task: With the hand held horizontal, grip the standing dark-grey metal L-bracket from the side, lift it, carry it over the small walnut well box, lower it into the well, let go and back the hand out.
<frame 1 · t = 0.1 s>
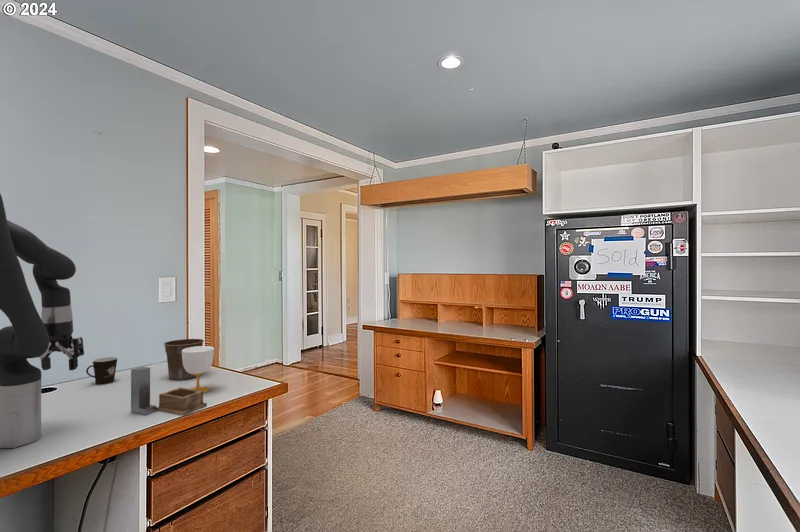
hand: (60, 369, 127), 17 cm above the table, fingers open, 8 cm apart
well: (178, 407, 141), on the table
cup: (197, 391, 160), on the table
bracket: (140, 411, 137), on the table
plant pot: (184, 377, 181), on the table
coffee mug: (100, 383, 170), on the table
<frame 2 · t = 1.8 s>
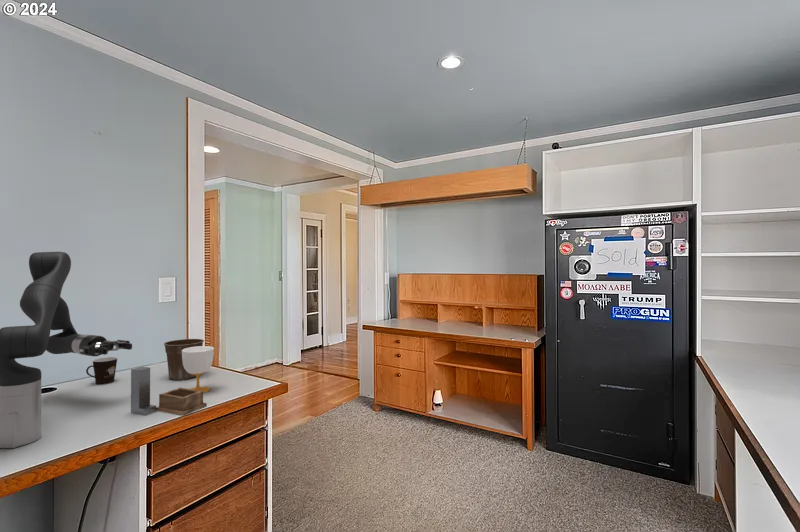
hand: (119, 348, 141), 21 cm above the table, fingers open, 8 cm apart
nothing on the table moved.
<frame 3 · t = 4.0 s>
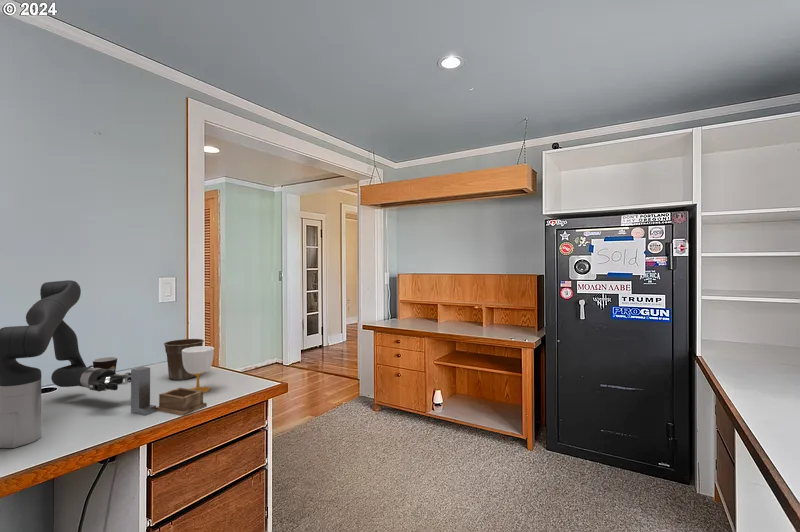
hand: (129, 383, 139), 9 cm above the table, fingers open, 8 cm apart
nothing on the table moved.
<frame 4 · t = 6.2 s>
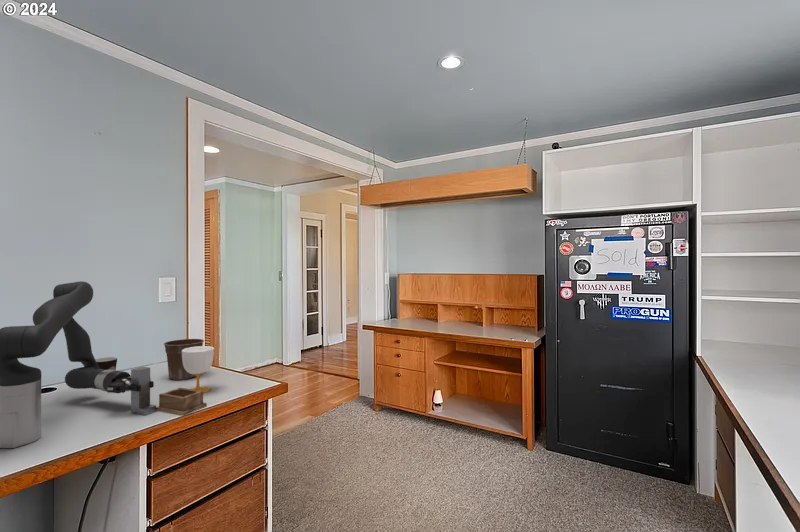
hand: (146, 386, 137), 9 cm above the table, fingers closed on bracket, 4 cm apart
bracket: (140, 411, 137), on the table, touching gripper
everything else where it was.
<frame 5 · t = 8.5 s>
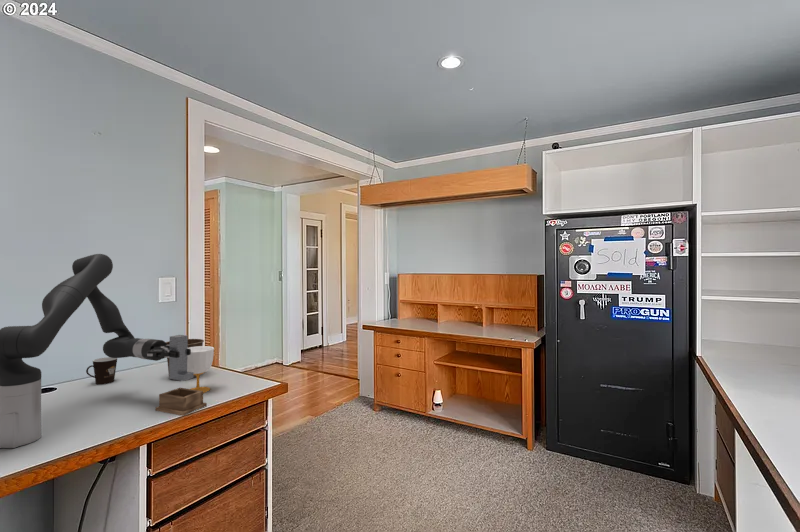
hand: (184, 353, 140), 20 cm above the table, fingers closed on bracket, 4 cm apart
bracket: (178, 377, 141), point 11 cm above the table, touching gripper
everything else where it was.
when the fingers open (11 cm above the table, at t = 10.7 s): bracket drops 1 cm, resting on well.
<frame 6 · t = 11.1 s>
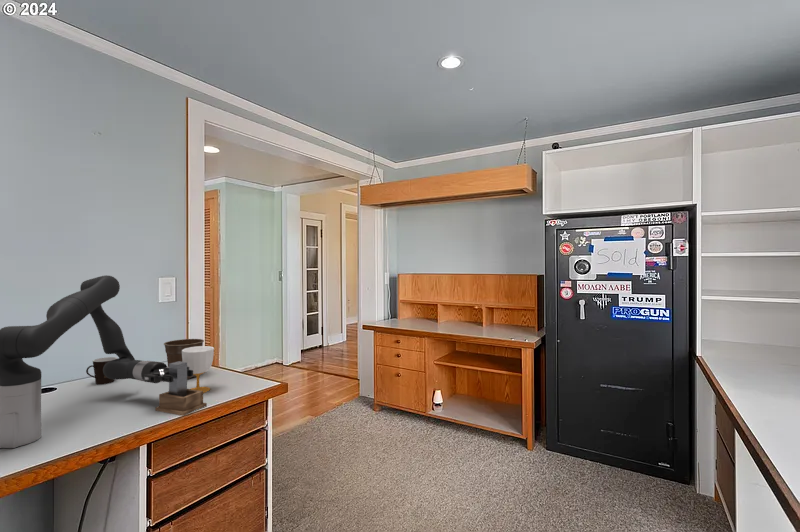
hand: (182, 376, 141), 12 cm above the table, fingers open, 7 cm apart
bracket: (178, 404, 141), point 1 cm above the table, touching well
everything else where it was.
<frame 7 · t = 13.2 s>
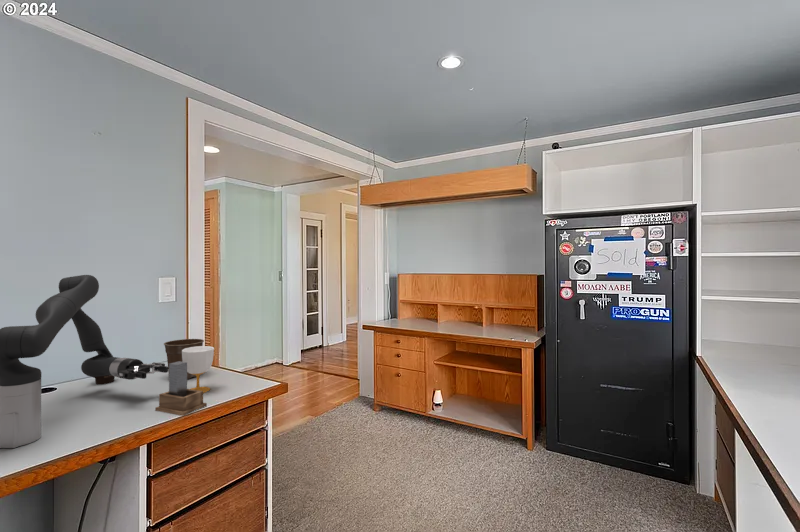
hand: (156, 372, 145), 11 cm above the table, fingers open, 8 cm apart
nothing on the table moved.
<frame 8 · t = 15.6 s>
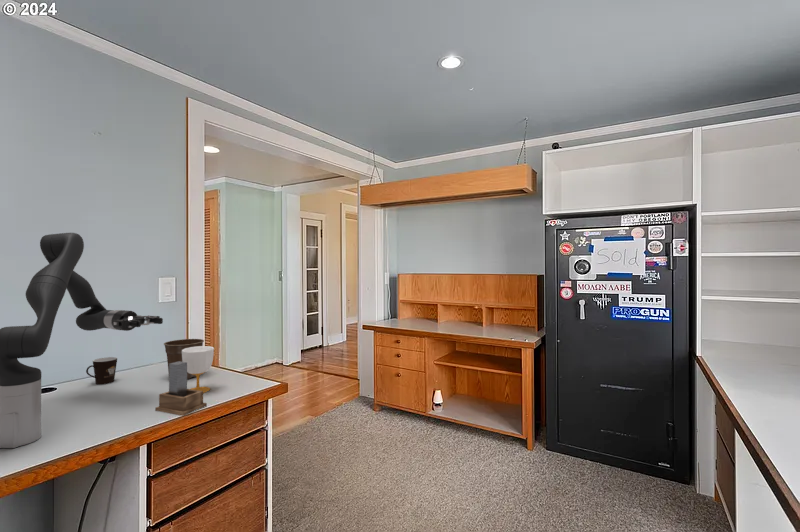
hand: (151, 322, 145), 30 cm above the table, fingers open, 8 cm apart
nothing on the table moved.
at the end: bracket 0.1 cm off-centre on the well, point 1.0 cm above the well's base; bracket tilted 0°; the gripper is holding nothing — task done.
